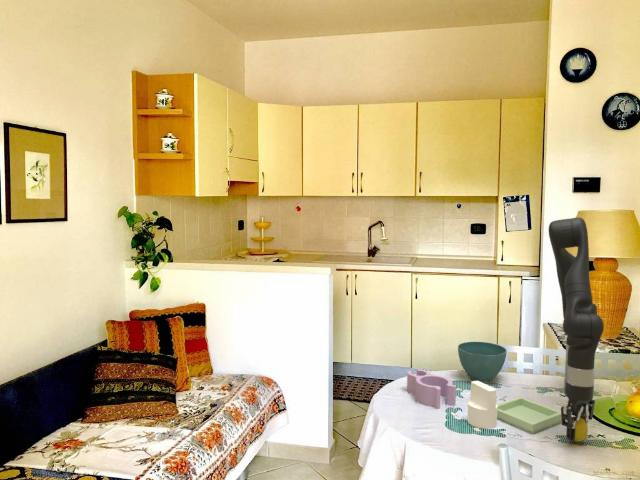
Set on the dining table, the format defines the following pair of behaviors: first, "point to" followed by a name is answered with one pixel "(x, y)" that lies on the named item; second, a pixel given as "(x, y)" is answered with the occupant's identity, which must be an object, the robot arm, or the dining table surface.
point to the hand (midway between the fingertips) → (576, 436)
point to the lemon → (580, 430)
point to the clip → (431, 388)
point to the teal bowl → (481, 360)
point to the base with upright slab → (482, 406)
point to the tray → (528, 415)
